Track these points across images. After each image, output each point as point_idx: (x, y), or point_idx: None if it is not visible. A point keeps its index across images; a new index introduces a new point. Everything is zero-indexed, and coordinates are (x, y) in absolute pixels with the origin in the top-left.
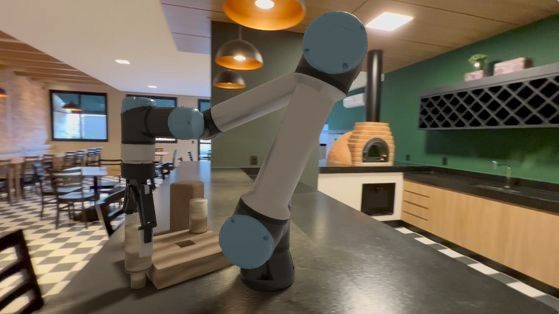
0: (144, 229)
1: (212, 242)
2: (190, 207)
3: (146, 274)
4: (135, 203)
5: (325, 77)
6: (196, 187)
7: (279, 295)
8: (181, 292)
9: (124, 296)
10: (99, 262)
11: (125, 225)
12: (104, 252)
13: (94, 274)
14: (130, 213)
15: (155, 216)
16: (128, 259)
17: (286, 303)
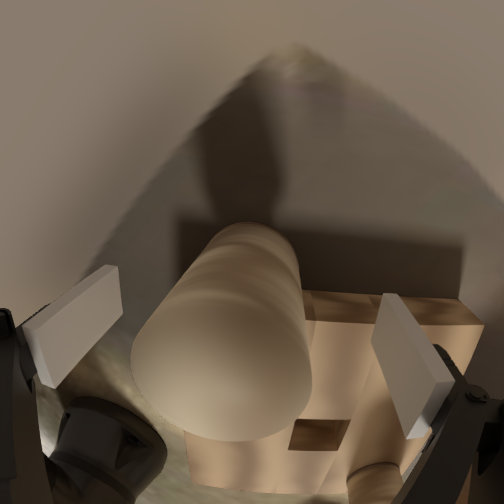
0: (18, 338)
1: (262, 471)
2: None
3: (305, 290)
4: (10, 480)
5: None
6: None
7: (58, 400)
8: (142, 311)
9: (218, 195)
10: (491, 213)
11: (266, 322)
12: None
13: (429, 173)
14: (438, 415)
15: None
16: (216, 240)
17: (39, 388)
